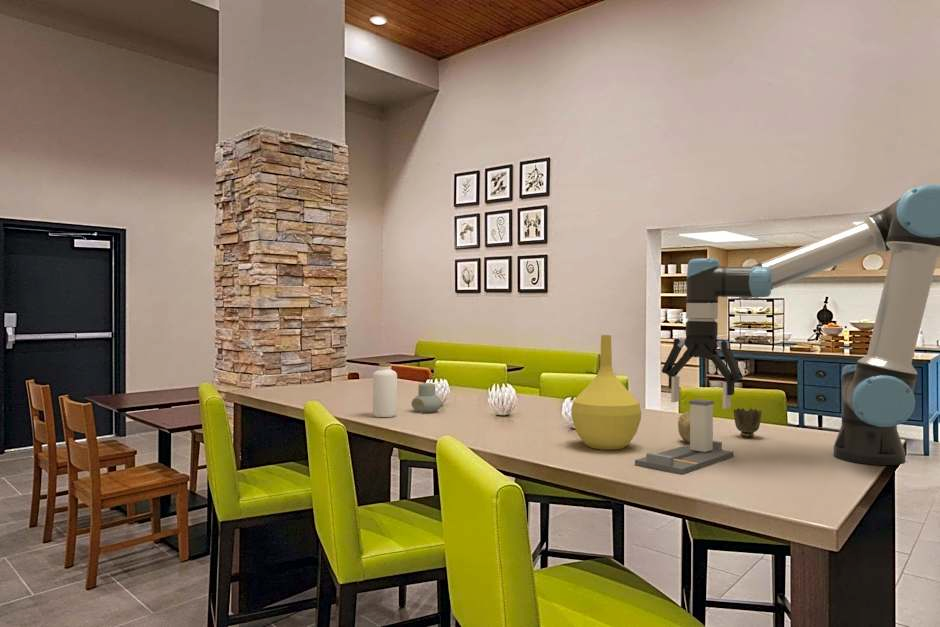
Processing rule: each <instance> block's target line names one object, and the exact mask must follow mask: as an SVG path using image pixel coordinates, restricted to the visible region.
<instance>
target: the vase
mask: <svg viewBox="0 0 940 627" xmlns="http://www.w3.org/2000/svg"><path fill="white" fill-rule="evenodd" d="M612 350H613V349H612V334H601V335H600V358H599V359H600V364H599V365H600V367H599V370H598V372H597V374H596V376H595V377H594V378H593V379H592V380H591V381H590V383H589V384H587V386H586V387H585V388H584V389H583V390H582V391H581V392H580V393H579V394H578V395H577V396H576V397H575V398H574V399H573V401H572V405H571V412H570V413H571V415H570V416H571V419H572V422H573V426H574V429H575V432H576V433H577V435H578V436H579V439H580V440H581V441H582V442H583V443H584V444H585V445H586V446H587V447H589V448H592V449H594V450H595V449H596V450H604V451H615V450H616V451H617V450H621V449H624V448H626V447H627V446H628V445H629V444H630V443H631V442H632V441H633V438H635V436H636V434H637V433H638V429H639V426H640V423H641V420H642V409H641V403H640V402H639V401H638V400H637V398H636V397H635V396H634V395H633V394H631V392H630V391H629V390H628V389H627V388H626V387H625V386H624V384H623V383H622V382H621V381H620V379H619V378H618V377H617V376H616V373H615V372H614V369H613V365H612V360H613V357H612V354H613V353H612Z"/></svg>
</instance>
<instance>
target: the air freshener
mask: <svg viewBox="0 0 940 627" xmlns="http://www.w3.org/2000/svg"><path fill="white" fill-rule="evenodd" d="M442 405H443V401H442V399H441V398H440V397H439V396H437V395H436V385H435V383H432V382H431V383H429V382H428V383H427V382H424V383H422V382H421V383H419V384H418V395H416V396H415V397H414V398H413V399H412V400H411V407H412V409H413V410H414V411H416V412H418V413H419V412H431V413H436V412H437V411H439V410H440V409H441V408H442Z"/></svg>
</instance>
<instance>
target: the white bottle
mask: <svg viewBox="0 0 940 627" xmlns="http://www.w3.org/2000/svg"><path fill="white" fill-rule="evenodd" d="M397 414H398V374H397V372H396V371H395V370H393V369H392V363H385V362H384V363H378V369H377V370H375V371H374V372H373V374H372V416H374V417H375V418H378V417H390V418H393V417H392V416H394V417H396V416H397Z"/></svg>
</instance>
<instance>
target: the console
mask: <svg viewBox="0 0 940 627" xmlns="http://www.w3.org/2000/svg"><path fill="white" fill-rule="evenodd" d="M645 455H646V456H643V457H641V458H638V459H634V465H635V466H637V467H642V468H647V469H653V470H657V471H662V472H668V473H673V474H678V475H685V474H688V473H690V472H693V471H696V470H699V469H702V468H705V467H707V466H708V467H709V466H711V465H713V464H716V463H719V462H722V461H725V460H727V459H731V458H734V451H733V450H732V451H731V450H726V449H723V441H718V440H713V450H710V451H707V452H702V451H696V450H690V443H688V444H685V445H682V446H678V447H675V448H672V449H668V450H665V451H661V452H658V453H655V452H647V453H646V454H645Z"/></svg>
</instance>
